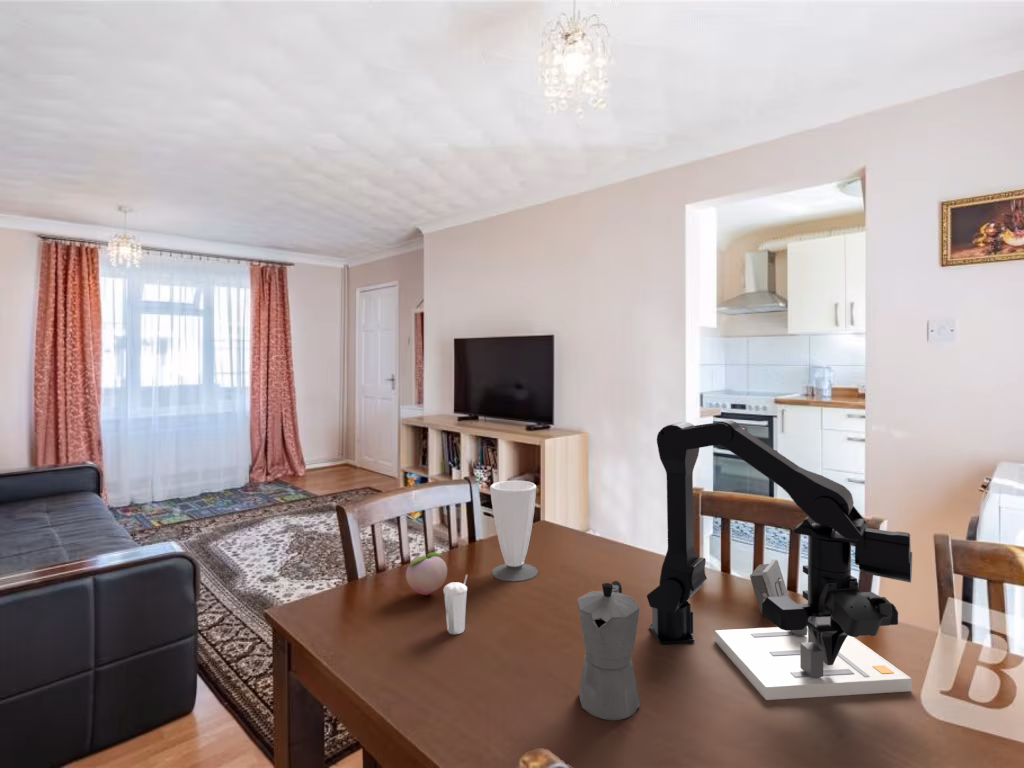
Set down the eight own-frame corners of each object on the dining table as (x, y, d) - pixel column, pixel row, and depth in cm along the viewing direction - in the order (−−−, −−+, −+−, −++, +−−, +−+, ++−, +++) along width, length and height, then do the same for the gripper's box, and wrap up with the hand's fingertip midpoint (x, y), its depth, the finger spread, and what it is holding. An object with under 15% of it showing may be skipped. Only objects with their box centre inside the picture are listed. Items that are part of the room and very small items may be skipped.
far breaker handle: (796, 635, 93) (796, 613, 93) (787, 628, 96) (787, 606, 95) (807, 635, 93) (807, 612, 93) (798, 627, 96) (798, 606, 96)
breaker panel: (766, 700, 79) (766, 686, 79) (714, 641, 96) (714, 629, 96) (911, 691, 81) (911, 677, 80) (835, 634, 98) (835, 623, 97)
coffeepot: (633, 737, 72) (632, 607, 71) (566, 721, 75) (564, 597, 74) (647, 674, 86) (647, 566, 85) (591, 664, 89) (589, 559, 89)
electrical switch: (780, 621, 103) (775, 573, 103) (752, 616, 106) (748, 570, 106) (791, 604, 110) (786, 559, 110) (764, 600, 113) (760, 556, 114)
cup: (538, 581, 124) (537, 490, 123) (490, 582, 124) (488, 491, 123) (537, 563, 135) (535, 479, 135) (492, 563, 135) (490, 480, 135)
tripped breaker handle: (810, 677, 81) (810, 651, 81) (800, 667, 83) (800, 642, 83) (823, 676, 81) (823, 651, 81) (812, 667, 83) (812, 642, 83)
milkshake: (475, 628, 102) (475, 577, 102) (454, 639, 98) (453, 586, 98) (460, 620, 105) (459, 571, 105) (439, 631, 101) (438, 579, 101)
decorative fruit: (428, 608, 111) (427, 561, 111) (400, 599, 115) (399, 554, 115) (456, 591, 119) (455, 547, 119) (428, 584, 123) (427, 541, 123)
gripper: (803, 590, 73) (803, 700, 74) (930, 584, 74) (928, 692, 75) (760, 560, 84) (760, 656, 85) (871, 555, 85) (870, 650, 86)
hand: (828, 663), depth 82 cm, fingers closed
